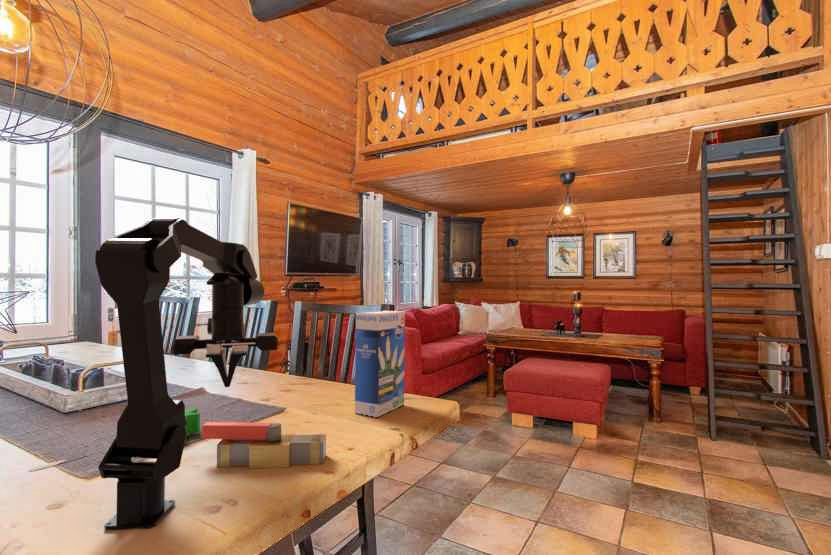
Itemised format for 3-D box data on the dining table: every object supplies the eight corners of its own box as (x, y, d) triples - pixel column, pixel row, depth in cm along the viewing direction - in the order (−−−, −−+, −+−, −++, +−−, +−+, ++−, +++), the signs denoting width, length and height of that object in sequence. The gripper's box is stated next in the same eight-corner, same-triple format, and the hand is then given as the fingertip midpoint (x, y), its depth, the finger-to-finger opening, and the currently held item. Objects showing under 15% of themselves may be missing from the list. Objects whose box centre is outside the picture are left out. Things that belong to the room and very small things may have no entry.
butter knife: (26, 466, 76) (30, 470, 74) (182, 427, 98) (189, 429, 96) (25, 470, 76) (30, 473, 74) (182, 430, 98) (189, 432, 96)
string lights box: (377, 418, 105) (378, 313, 105) (352, 413, 109) (353, 312, 109) (405, 405, 116) (406, 310, 116) (382, 401, 120) (383, 309, 120)
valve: (322, 466, 78) (322, 444, 78) (214, 469, 76) (214, 446, 76) (326, 453, 84) (326, 432, 84) (226, 455, 82) (226, 434, 82)
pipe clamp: (174, 448, 86) (174, 425, 86) (157, 447, 87) (157, 424, 87) (207, 428, 97) (208, 408, 97) (192, 427, 98) (192, 407, 98)
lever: (283, 435, 81) (283, 422, 81) (278, 441, 78) (278, 427, 79) (208, 434, 81) (208, 421, 81) (200, 440, 79) (200, 426, 79)
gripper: (277, 304, 95) (276, 374, 95) (182, 305, 89) (182, 380, 89) (277, 308, 84) (277, 387, 84) (171, 309, 78) (170, 394, 78)
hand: (227, 386), depth 84 cm, fingers closed
